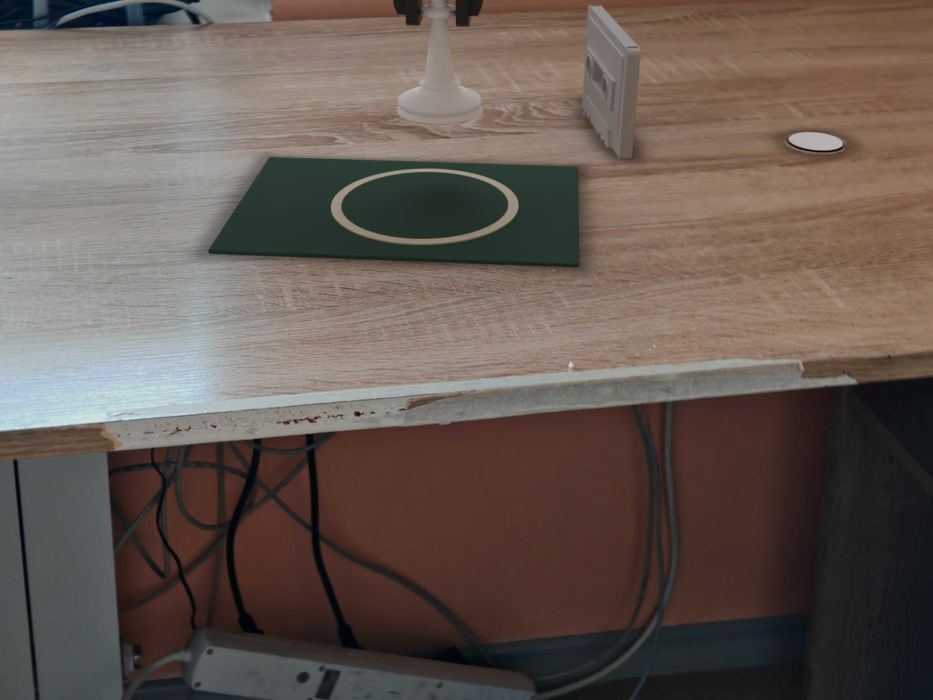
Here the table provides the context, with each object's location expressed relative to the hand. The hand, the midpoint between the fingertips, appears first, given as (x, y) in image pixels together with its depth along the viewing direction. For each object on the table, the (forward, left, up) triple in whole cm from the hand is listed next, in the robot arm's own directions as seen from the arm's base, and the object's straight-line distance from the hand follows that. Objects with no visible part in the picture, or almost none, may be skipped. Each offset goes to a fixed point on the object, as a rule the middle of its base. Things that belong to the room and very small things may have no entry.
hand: (439, 21), depth 59 cm
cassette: (+10, +14, -11) cm, 20 cm away
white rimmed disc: (+24, +12, -11) cm, 29 cm away
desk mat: (-2, -1, -11) cm, 11 cm away
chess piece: (0, 0, -5) cm, 5 cm away
